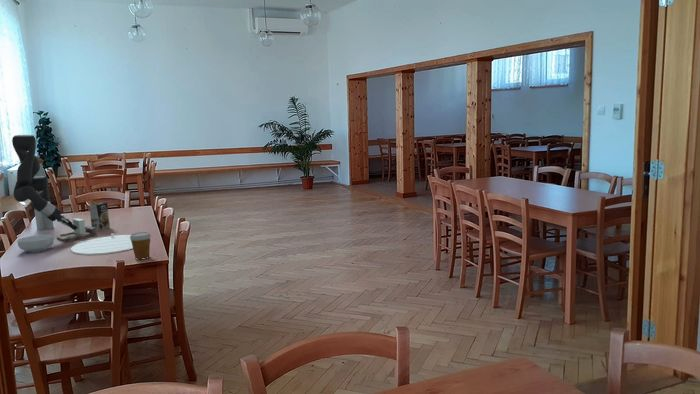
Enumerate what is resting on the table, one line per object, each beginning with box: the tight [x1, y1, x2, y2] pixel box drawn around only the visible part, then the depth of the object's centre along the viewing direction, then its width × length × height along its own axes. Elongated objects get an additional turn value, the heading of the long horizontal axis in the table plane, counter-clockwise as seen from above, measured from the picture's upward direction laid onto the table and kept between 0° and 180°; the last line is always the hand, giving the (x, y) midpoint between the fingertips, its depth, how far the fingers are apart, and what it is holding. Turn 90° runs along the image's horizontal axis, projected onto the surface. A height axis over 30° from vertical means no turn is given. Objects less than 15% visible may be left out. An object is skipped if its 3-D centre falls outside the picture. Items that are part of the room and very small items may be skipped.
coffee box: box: [88, 202, 111, 232], centre depth 334 cm, size 9×6×16 cm
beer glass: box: [129, 231, 151, 259], centre depth 264 cm, size 10×10×12 cm
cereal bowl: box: [16, 234, 55, 254], centre depth 288 cm, size 17×17×7 cm
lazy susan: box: [70, 232, 133, 256], centre depth 294 cm, size 40×39×3 cm
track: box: [56, 225, 98, 243], centre depth 315 cm, size 18×11×4 cm, turn 137°
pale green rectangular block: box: [72, 218, 86, 235], centre depth 316 cm, size 3×9×8 cm, turn 47°
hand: (75, 228), depth 314 cm, fingers closed
